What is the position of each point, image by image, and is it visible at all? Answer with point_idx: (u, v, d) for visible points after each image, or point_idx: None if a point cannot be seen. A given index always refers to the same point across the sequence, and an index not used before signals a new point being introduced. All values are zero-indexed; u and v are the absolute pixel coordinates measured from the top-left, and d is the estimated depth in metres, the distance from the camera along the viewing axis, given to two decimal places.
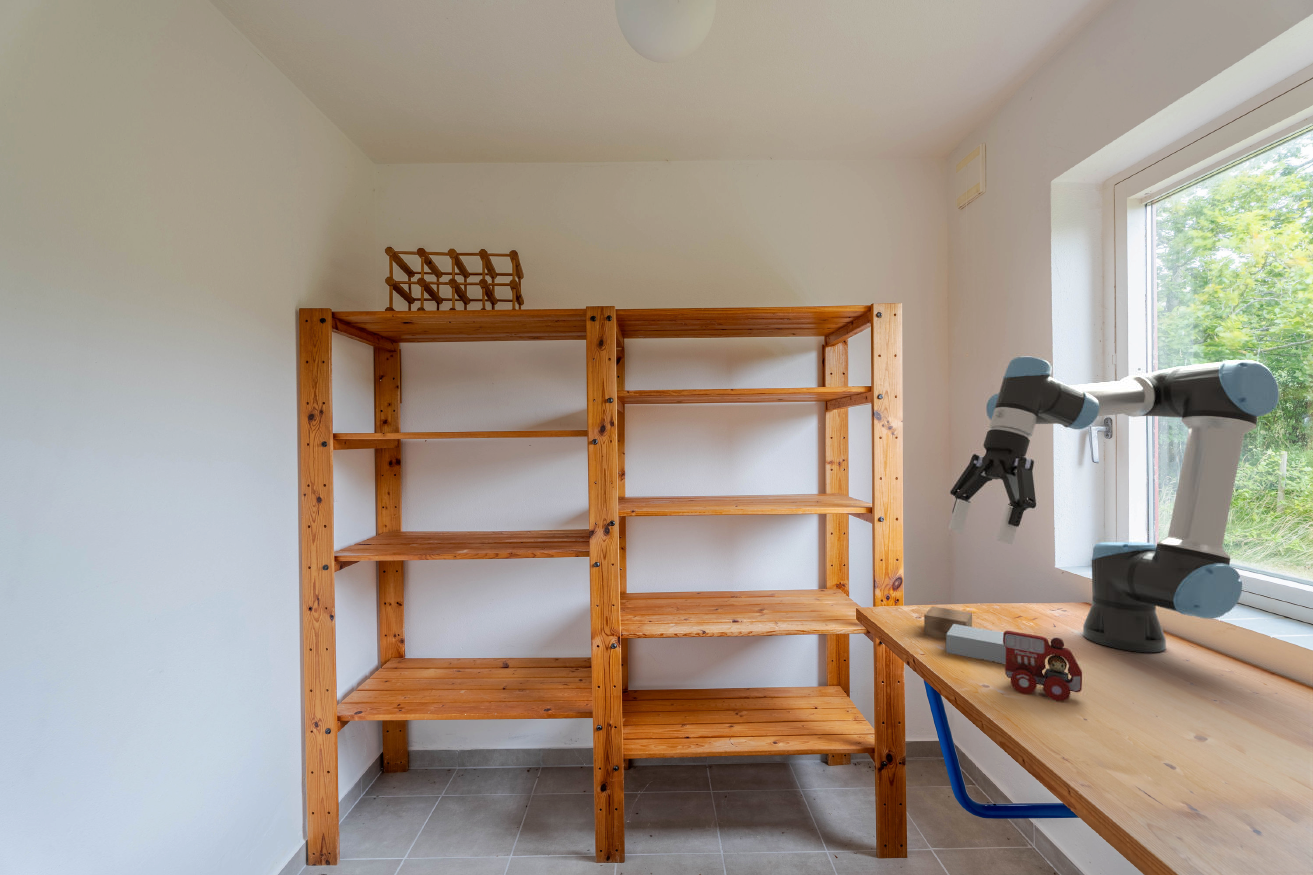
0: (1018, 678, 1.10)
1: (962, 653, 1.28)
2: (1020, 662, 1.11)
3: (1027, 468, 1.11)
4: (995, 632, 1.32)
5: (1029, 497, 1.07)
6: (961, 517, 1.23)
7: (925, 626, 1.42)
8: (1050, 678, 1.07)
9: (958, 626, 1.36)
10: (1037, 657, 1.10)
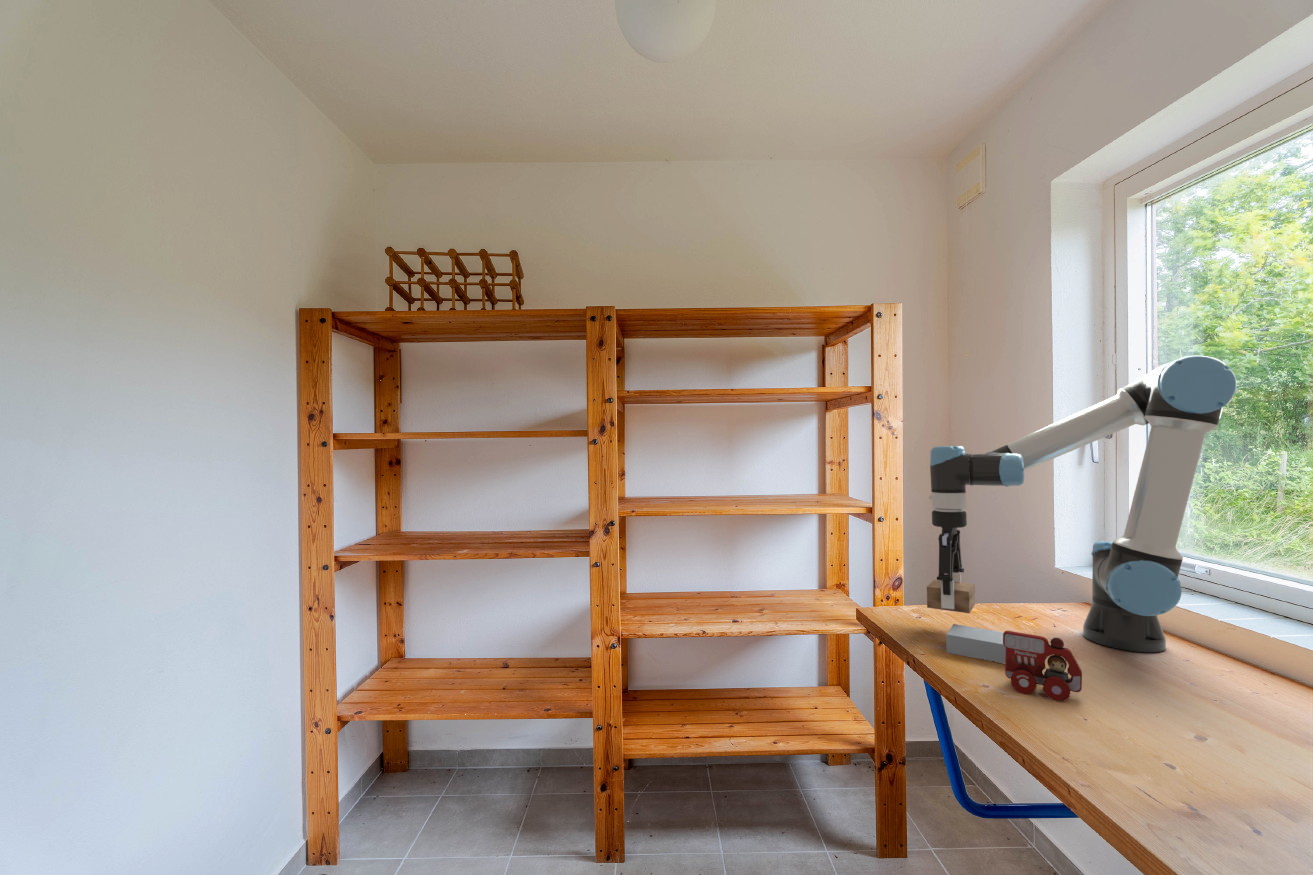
0: (1018, 678, 1.10)
1: (962, 653, 1.28)
2: (1020, 662, 1.11)
3: (946, 545, 1.38)
4: (995, 632, 1.32)
5: (943, 572, 1.37)
6: None
7: (928, 598, 1.42)
8: (1050, 678, 1.07)
9: (958, 626, 1.36)
10: (1037, 657, 1.10)
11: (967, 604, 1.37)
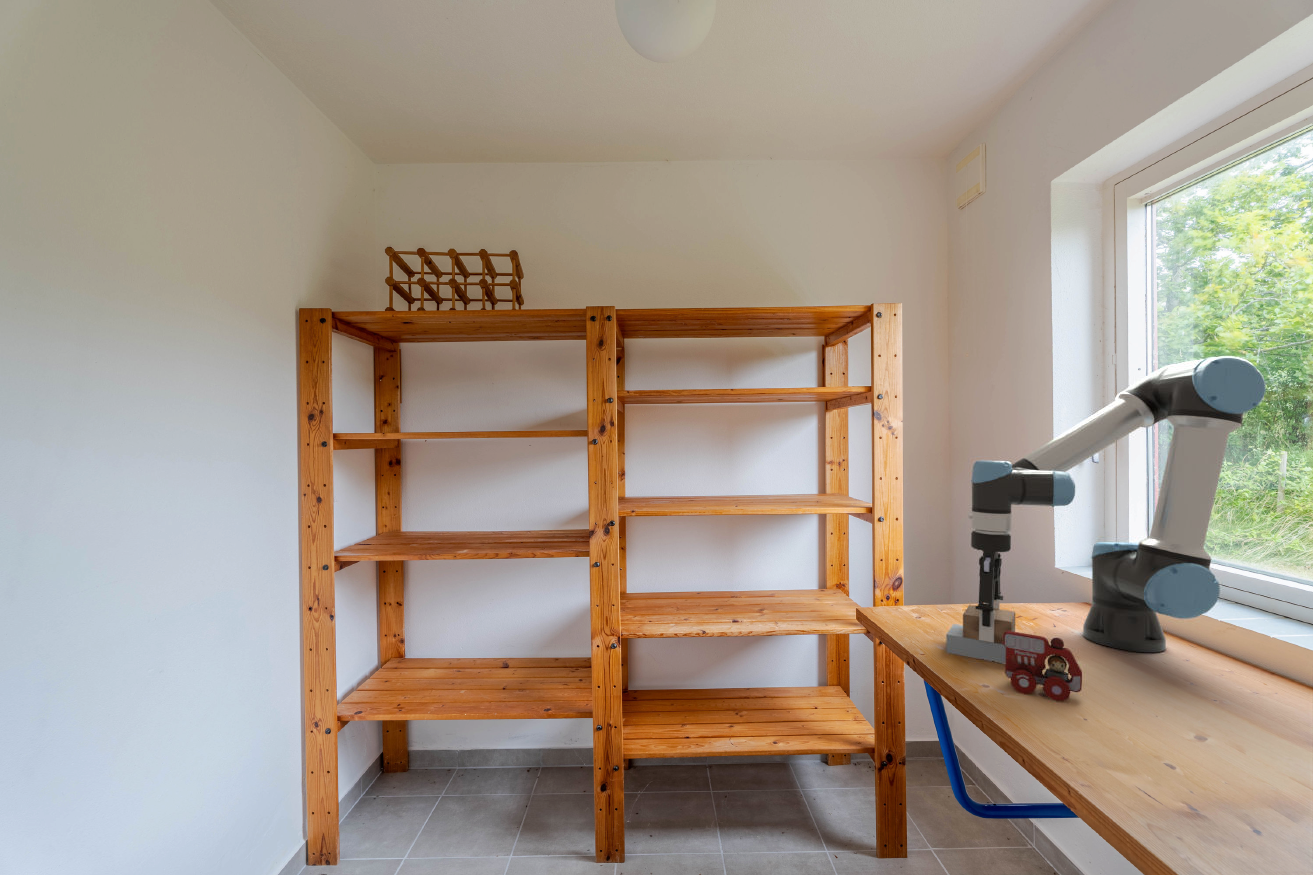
0: (1018, 678, 1.10)
1: (962, 653, 1.28)
2: (1020, 662, 1.11)
3: (988, 571, 1.24)
4: None
5: (984, 601, 1.23)
6: None
7: (964, 627, 1.28)
8: (1050, 678, 1.07)
9: (958, 626, 1.36)
10: (1037, 657, 1.10)
11: None
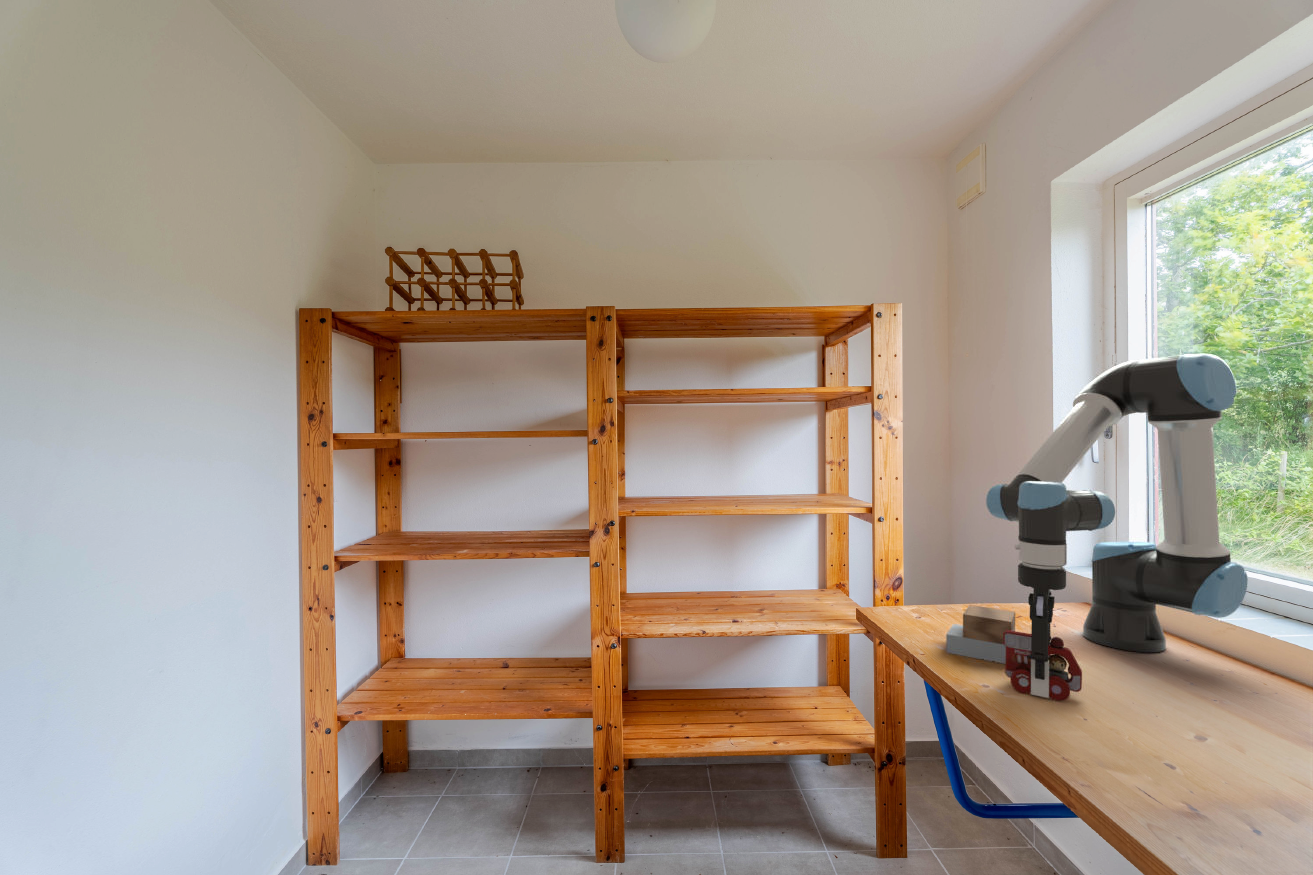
0: (1017, 678, 1.10)
1: (962, 653, 1.28)
2: (1020, 662, 1.11)
3: (1041, 615, 1.05)
4: None
5: (1038, 651, 1.05)
6: None
7: (964, 627, 1.28)
8: (1050, 677, 1.07)
9: (958, 626, 1.36)
10: None
11: None
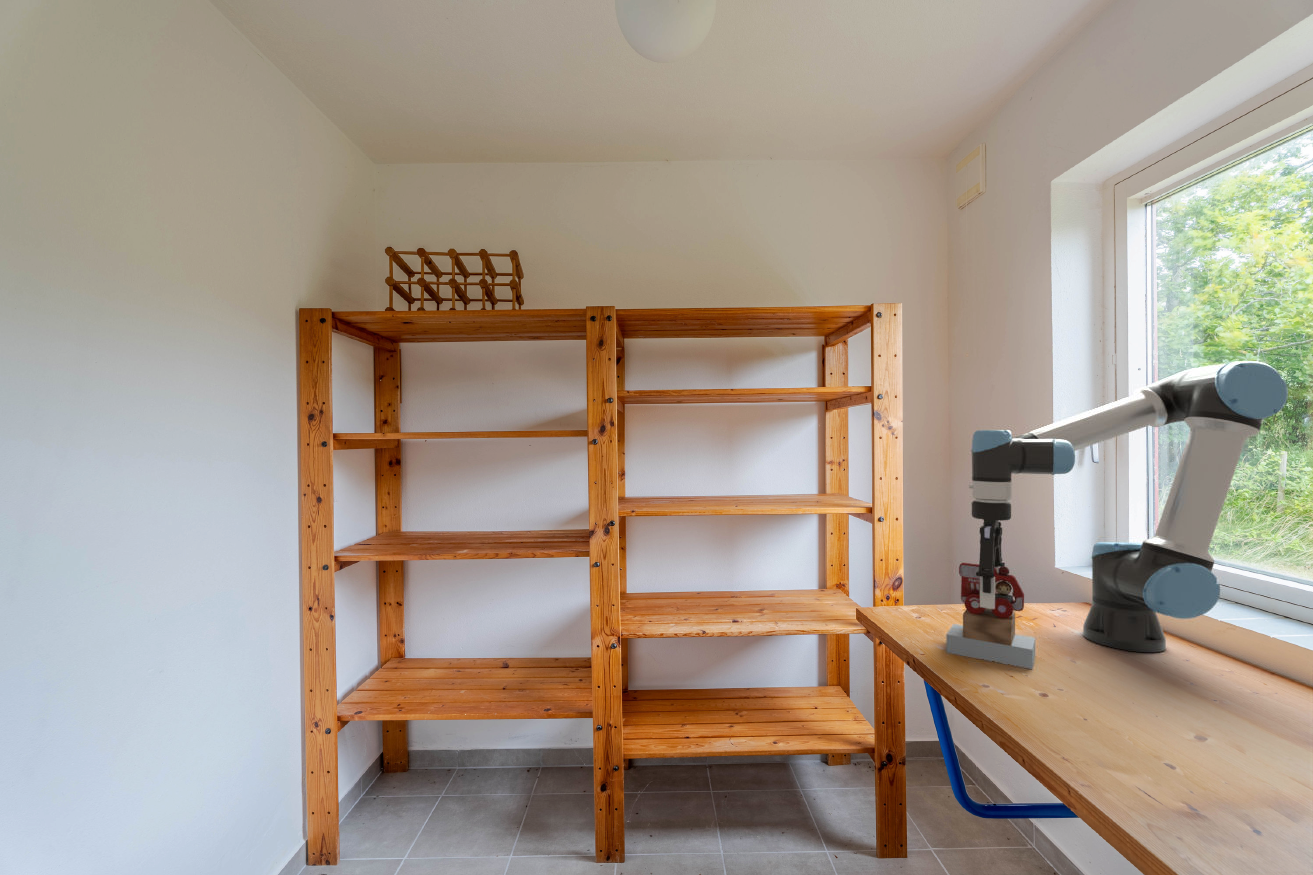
0: (970, 601, 1.28)
1: (962, 653, 1.28)
2: (973, 588, 1.30)
3: (988, 538, 1.24)
4: None
5: (985, 567, 1.22)
6: None
7: (964, 627, 1.28)
8: (997, 599, 1.26)
9: (958, 626, 1.36)
10: None
11: (1009, 635, 1.23)
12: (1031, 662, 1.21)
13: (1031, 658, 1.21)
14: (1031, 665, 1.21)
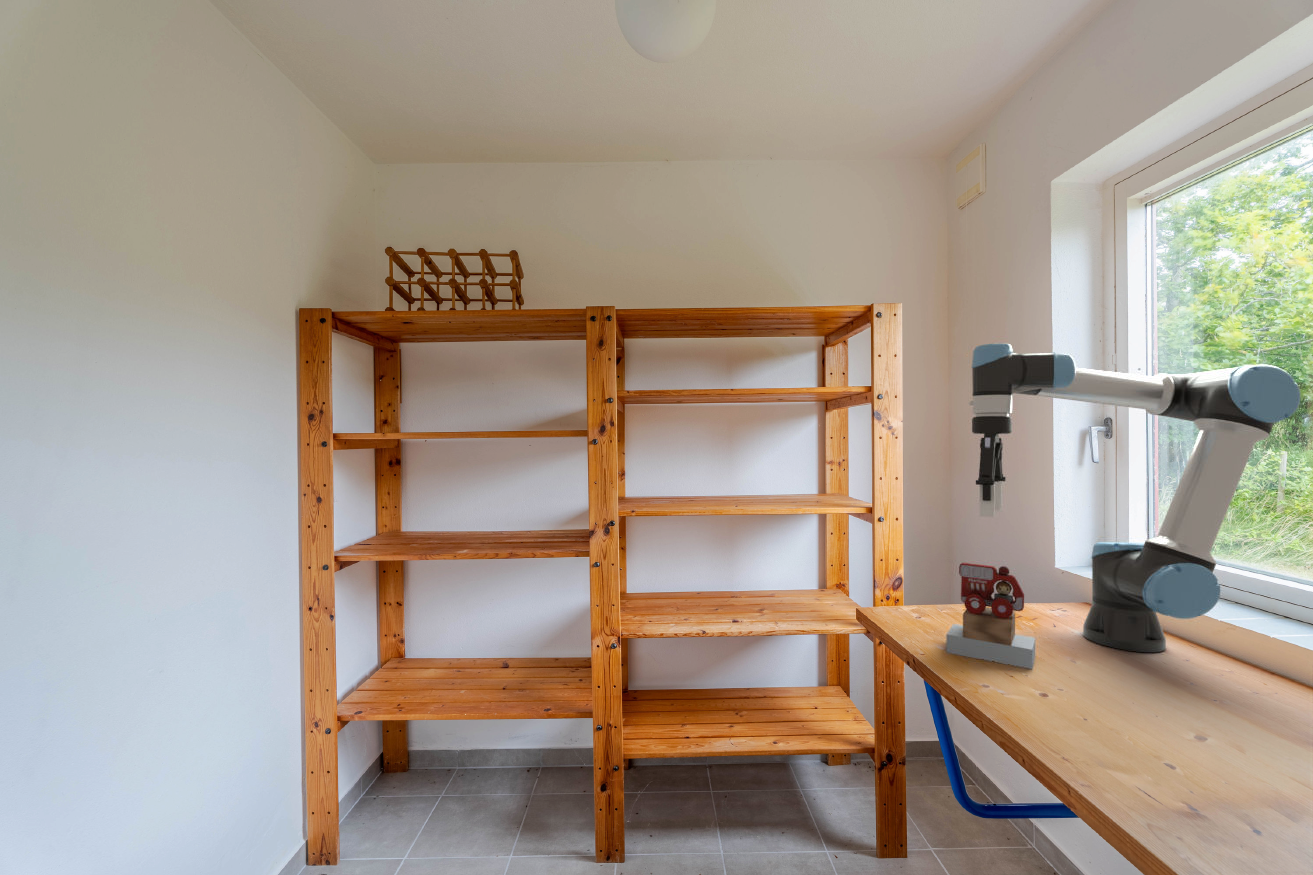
0: (970, 601, 1.28)
1: (962, 653, 1.28)
2: (973, 588, 1.30)
3: (989, 447, 1.24)
4: None
5: (984, 474, 1.21)
6: (996, 497, 1.34)
7: (964, 627, 1.28)
8: (997, 599, 1.26)
9: (958, 626, 1.36)
10: (987, 583, 1.29)
11: (1009, 635, 1.23)
12: (1031, 662, 1.21)
13: (1031, 658, 1.21)
14: (1031, 665, 1.21)
